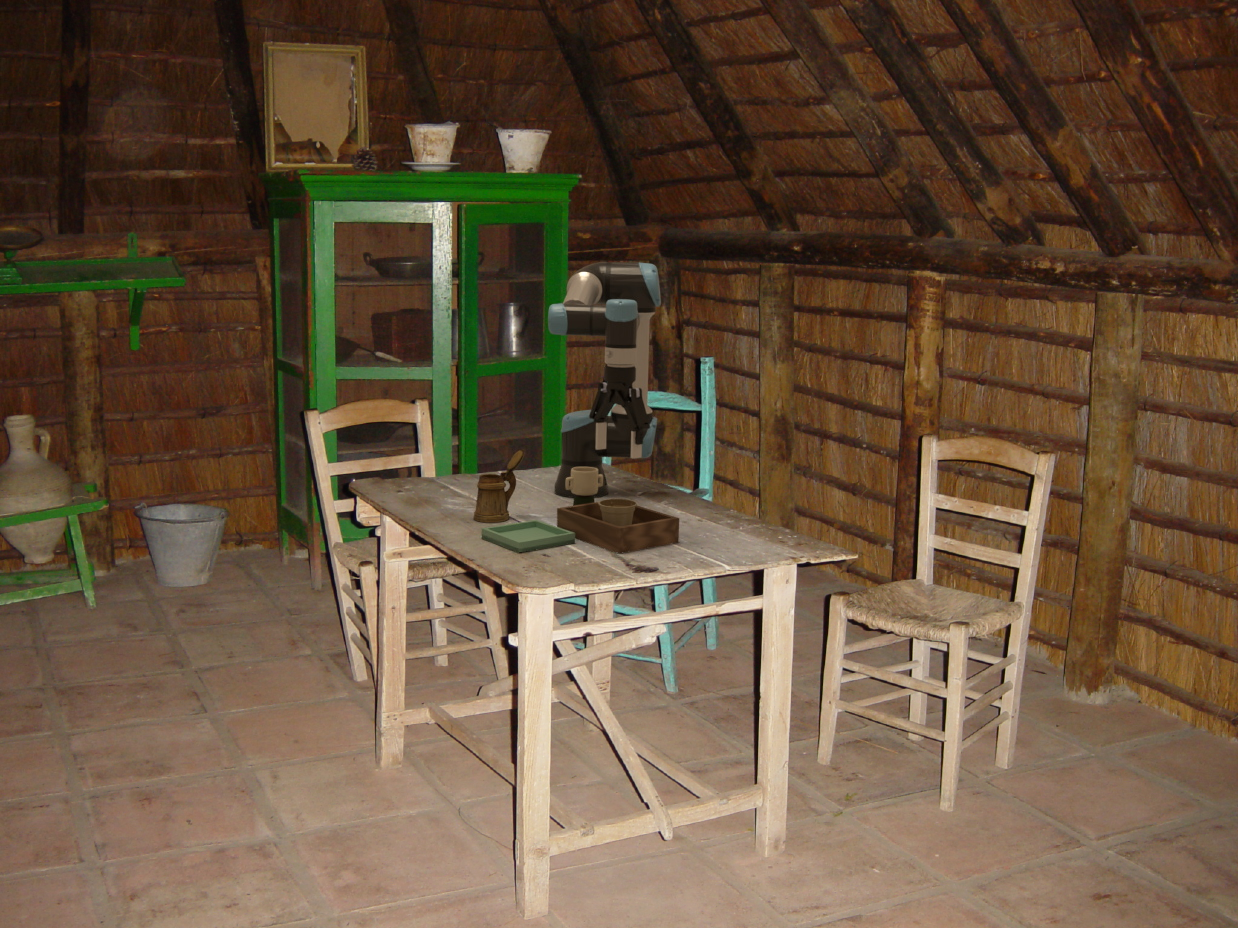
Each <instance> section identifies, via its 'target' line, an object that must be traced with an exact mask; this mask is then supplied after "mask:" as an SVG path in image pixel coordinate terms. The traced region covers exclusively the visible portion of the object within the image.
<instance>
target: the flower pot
mask: <svg viewBox="0 0 1238 928" xmlns="http://www.w3.org/2000/svg"><path fill="white" fill-rule="evenodd" d="M597 502H598V504H599V505H600V510H601V512H602V519H603V521H604V522H607V523H610V524H613V525H617V526H620V527H621V526H627V525H632V519H633V513H634V511H635V506H636V505H637V506H638V502H637V501H636V500H632V499H627V498H606V499H602V500H599V501H597Z"/></svg>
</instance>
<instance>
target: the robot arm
mask: <svg viewBox="0 0 1238 928" xmlns="http://www.w3.org/2000/svg"><path fill="white" fill-rule="evenodd" d="M658 271H659V270H658V268H657V266H656V265H655V264H653V263H648V262H646V263H645V262H618V261H617V262H615V261H613V262H612V261H611V262H610V261H600V262H594V263H591V264H588V265H585V266H584V267H582V268H580V269H578V270H577V271H575V272H574V273H573V274H572V275H571V276H570V278H569V280H568V281H567V285H566V295H565V297H564V300H563V302H559V303H553V304H551V305H549V306H548V307H549V308H548V315H547V316H548V317H547V324H548V331H549V332H550V334H552V335H557V336H558V335H560V336H562V337H563V336H589V337H590V336H591V337H592V336H593V337H605V338H604V339H605V342H604V363H605V364H606V365H605V366H604V367H603V368H604V373H603V380H604V382H598V384H597V391H596V395H595V397H594V400H593V404H592V407H591V409H586V410H577V411H572V412H569V413H566V414H565V415H564V416H563V417H562V419H561V420H562V421H561V430H560V433H561V453H560V457H561V458H560V461H561V462H560V468H559V471H558V474H557V477H556V481H555V483H554V493H555V494H556V495H557V496H560V497H561V496H562V497H567V498H573V499H574V498H575V496H576V494H573V493H572V492H571V490H566V487H565V484H566V478H567V477H571V469H572V468H574V467H594V468H597V469H598V474H602V475H603V486H601V487H598V491H597V494H594V495H592V496H593V497H594V498H598V497H603V496H605V495H608V493H609V485H608V481H607V477H606V475H605V472H604V467H603V458H619V459H620V458H625V459H634V460H637V459H647V458H650V457H651V456H652V453H653V449H654V443H655V438H656V433H657V432H656V431H657V425H658V418H657V416H653V409H652V408H651V407H649V405H648V395H649V394H648V393H649V392H648V391H649V390H648V387H649V354H650V353H649V351H650V350H649V349H650V321H651V320H650V319H651V318H652V317H653V316H654V315H655V314H656V308H659V307H660V306H662V305H661V304H662V300H661V288H660V277H659V272H658ZM609 413H610V415H609ZM598 483H599V478H598ZM569 486H570V481H569Z"/></svg>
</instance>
